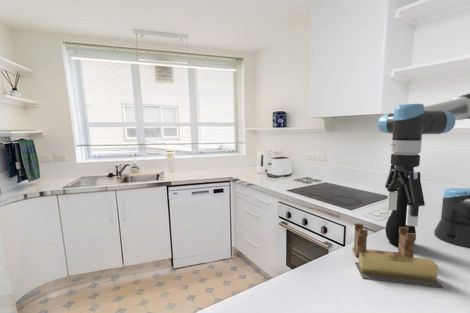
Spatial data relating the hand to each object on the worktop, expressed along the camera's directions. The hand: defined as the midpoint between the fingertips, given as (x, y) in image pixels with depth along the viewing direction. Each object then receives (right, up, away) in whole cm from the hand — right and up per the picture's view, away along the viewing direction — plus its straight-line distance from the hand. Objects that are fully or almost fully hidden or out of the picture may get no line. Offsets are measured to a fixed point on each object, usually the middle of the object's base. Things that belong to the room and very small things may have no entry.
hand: (400, 217), depth 76 cm
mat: (0, -20, +2) cm, 21 cm away
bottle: (+16, -18, +23) cm, 33 cm away
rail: (0, -20, +2) cm, 20 cm away
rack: (+3, -19, +14) cm, 23 cm away
